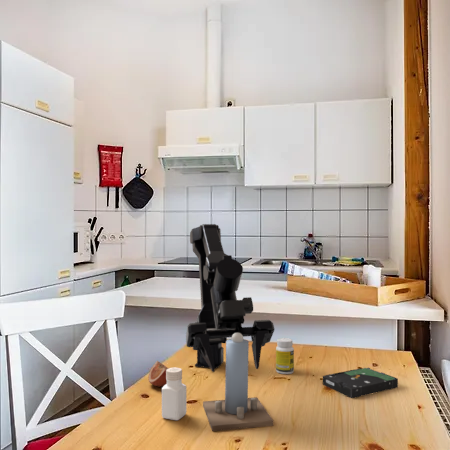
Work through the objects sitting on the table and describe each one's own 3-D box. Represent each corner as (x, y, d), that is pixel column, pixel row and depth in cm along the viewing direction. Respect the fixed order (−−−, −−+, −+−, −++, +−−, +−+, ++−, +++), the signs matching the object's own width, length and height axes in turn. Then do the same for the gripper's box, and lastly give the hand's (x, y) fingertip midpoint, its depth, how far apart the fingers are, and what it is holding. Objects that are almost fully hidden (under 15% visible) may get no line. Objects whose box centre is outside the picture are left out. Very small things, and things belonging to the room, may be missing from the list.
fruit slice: (145, 380, 114) (145, 361, 114) (171, 377, 116) (171, 358, 116) (152, 392, 106) (152, 371, 106) (180, 388, 108) (180, 367, 108)
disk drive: (352, 401, 102) (399, 389, 109) (352, 389, 102) (398, 377, 109) (321, 387, 111) (366, 376, 118) (321, 375, 111) (366, 365, 118)
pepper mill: (220, 410, 93) (221, 332, 93) (234, 403, 97) (235, 329, 97) (238, 416, 90) (239, 336, 90) (251, 409, 94) (253, 332, 94)
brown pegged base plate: (202, 406, 98) (202, 392, 98) (257, 401, 100) (257, 388, 100) (212, 431, 86) (212, 415, 86) (273, 425, 89) (273, 410, 89)
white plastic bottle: (187, 414, 94) (187, 368, 94) (177, 422, 90) (177, 374, 90) (170, 411, 96) (170, 365, 96) (160, 418, 92) (160, 371, 92)
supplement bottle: (293, 375, 118) (293, 342, 118) (275, 374, 119) (274, 341, 119) (294, 369, 122) (294, 337, 122) (276, 368, 123) (276, 337, 123)
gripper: (187, 285, 97) (194, 352, 86) (272, 283, 100) (288, 347, 90) (183, 315, 105) (189, 379, 94) (262, 311, 108) (276, 373, 98)
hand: (235, 369), depth 94 cm, fingers open, 9 cm apart
